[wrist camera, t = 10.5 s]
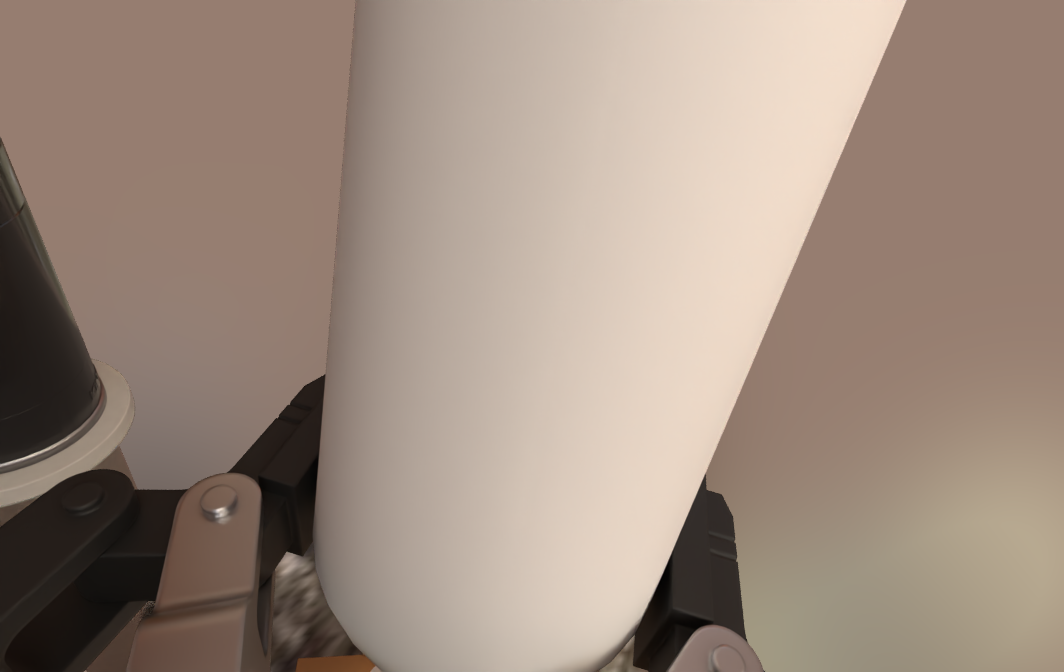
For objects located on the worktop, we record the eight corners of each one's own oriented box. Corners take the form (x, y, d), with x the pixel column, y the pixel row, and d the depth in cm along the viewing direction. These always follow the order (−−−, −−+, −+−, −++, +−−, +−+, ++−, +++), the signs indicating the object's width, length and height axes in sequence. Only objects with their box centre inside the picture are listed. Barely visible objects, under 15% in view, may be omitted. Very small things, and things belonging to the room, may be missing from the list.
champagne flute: (374, 620, 21) (404, -263, 7) (542, 653, 21) (902, -140, 7) (296, 853, 16) (-292, -1019, 2) (522, 895, 16) (1863, -427, 2)
